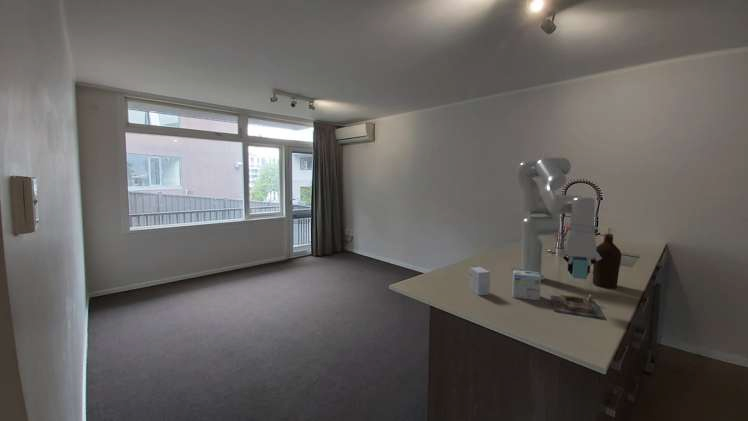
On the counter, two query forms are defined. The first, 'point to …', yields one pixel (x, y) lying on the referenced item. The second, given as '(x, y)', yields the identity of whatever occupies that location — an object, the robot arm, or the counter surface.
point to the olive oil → (607, 264)
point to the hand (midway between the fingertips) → (578, 273)
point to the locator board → (576, 306)
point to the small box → (479, 281)
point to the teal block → (579, 268)
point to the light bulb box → (526, 285)
